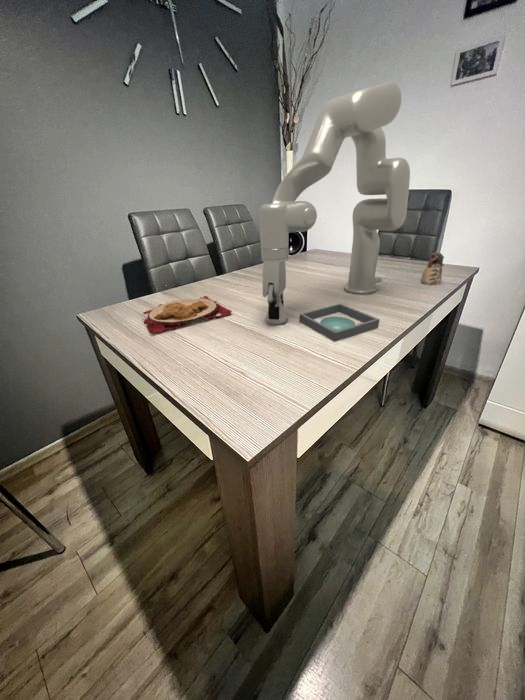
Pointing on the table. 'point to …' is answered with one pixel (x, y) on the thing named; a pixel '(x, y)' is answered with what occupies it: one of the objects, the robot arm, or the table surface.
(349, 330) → the square tray with dome
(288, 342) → the table surface
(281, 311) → the flask
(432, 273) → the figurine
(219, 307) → the plate with food
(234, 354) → the table surface
